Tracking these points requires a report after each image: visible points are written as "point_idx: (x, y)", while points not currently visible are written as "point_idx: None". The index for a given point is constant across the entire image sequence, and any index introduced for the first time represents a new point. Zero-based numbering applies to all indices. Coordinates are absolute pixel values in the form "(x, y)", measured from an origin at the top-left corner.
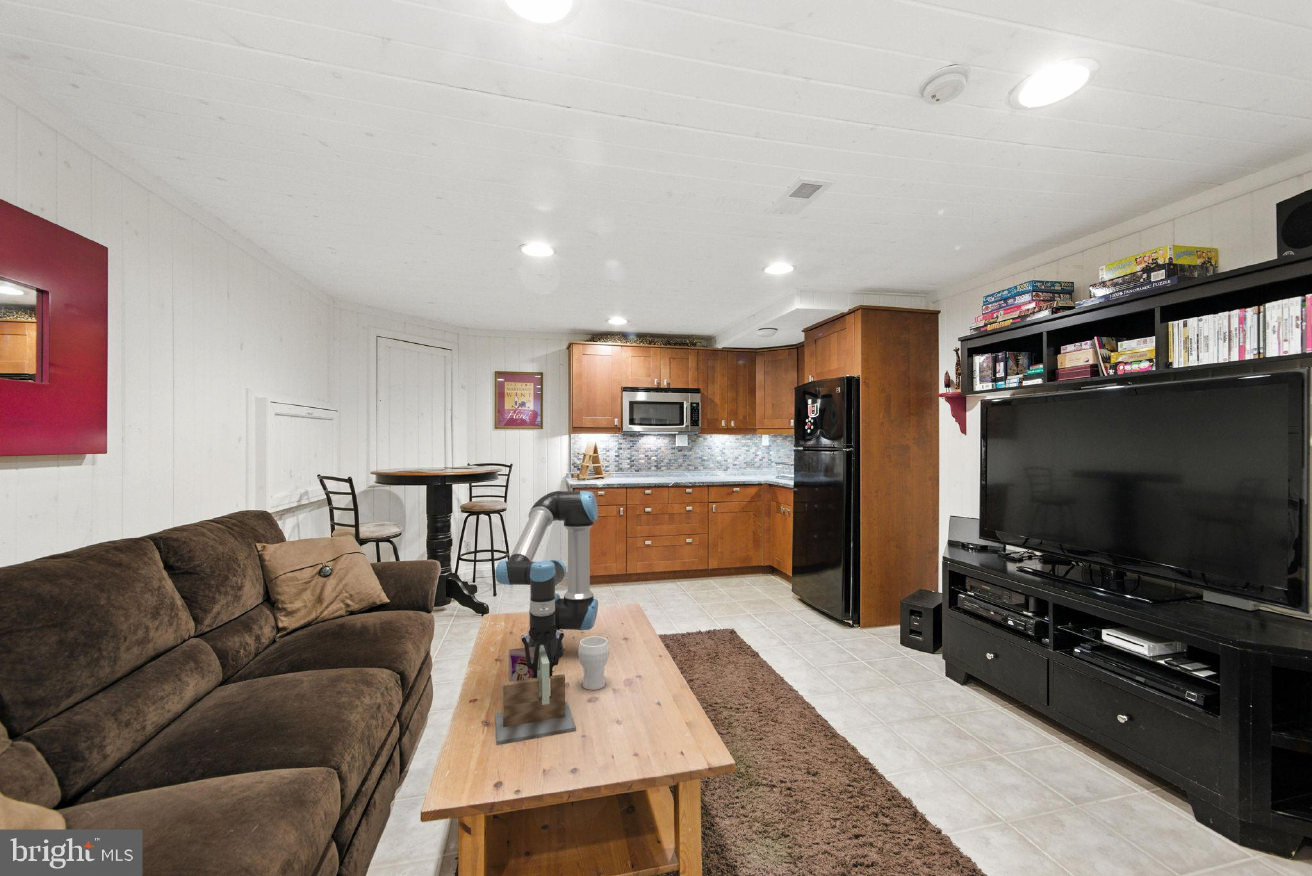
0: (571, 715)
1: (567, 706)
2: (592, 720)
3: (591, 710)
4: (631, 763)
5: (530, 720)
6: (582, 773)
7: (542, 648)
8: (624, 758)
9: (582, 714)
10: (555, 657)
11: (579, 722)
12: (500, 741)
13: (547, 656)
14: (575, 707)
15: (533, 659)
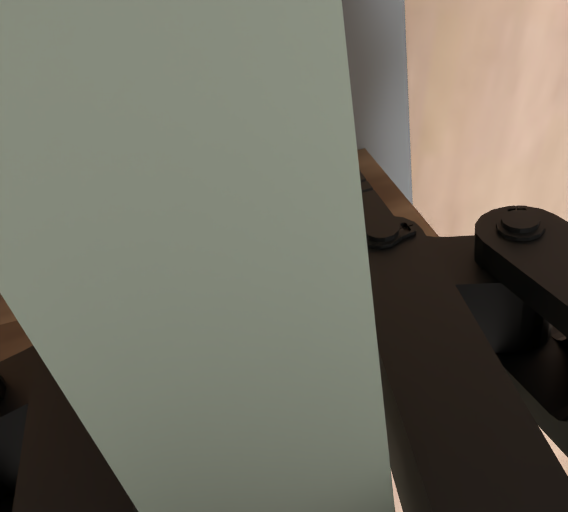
0: (408, 179)
1: (396, 45)
2: (513, 192)
3: (544, 68)
4: (553, 450)
5: None
6: (394, 496)
7: (262, 263)
8: (543, 433)
9: (475, 118)
10: (559, 444)
11: (439, 209)
12: None
13: (404, 495)
14: (449, 5)
15: (29, 439)
